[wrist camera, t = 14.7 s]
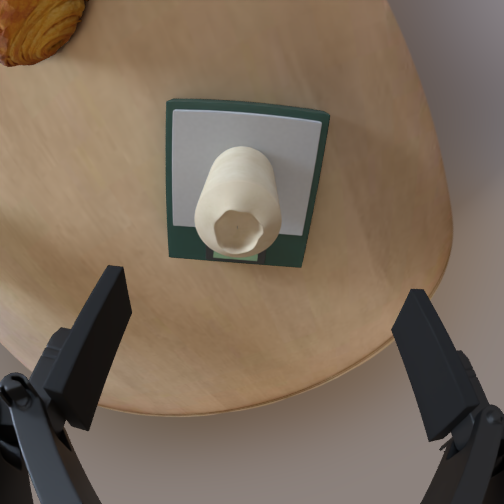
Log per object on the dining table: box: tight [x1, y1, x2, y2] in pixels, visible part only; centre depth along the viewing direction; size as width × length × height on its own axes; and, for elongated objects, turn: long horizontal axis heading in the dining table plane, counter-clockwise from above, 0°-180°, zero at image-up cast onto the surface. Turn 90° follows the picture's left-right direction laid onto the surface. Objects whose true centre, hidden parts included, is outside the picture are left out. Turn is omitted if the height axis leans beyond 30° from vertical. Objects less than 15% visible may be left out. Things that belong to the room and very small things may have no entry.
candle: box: [194, 146, 282, 258], centre depth 23 cm, size 6×6×10 cm
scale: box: [166, 99, 330, 268], centre depth 29 cm, size 14×16×3 cm
